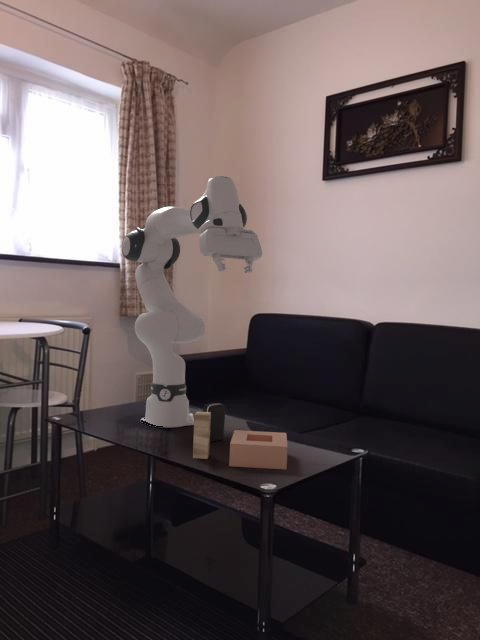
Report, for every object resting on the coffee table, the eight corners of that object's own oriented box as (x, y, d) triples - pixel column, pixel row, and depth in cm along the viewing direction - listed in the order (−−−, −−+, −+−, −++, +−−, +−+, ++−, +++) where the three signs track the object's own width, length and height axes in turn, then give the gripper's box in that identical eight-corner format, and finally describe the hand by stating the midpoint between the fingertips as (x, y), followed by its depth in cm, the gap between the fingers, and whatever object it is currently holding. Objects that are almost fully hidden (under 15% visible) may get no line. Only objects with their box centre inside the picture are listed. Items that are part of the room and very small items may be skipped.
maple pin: (195, 453, 151) (196, 411, 151) (209, 454, 151) (210, 412, 150) (192, 458, 147) (194, 414, 147) (207, 458, 147) (208, 415, 146)
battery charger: (216, 437, 171) (217, 401, 170) (224, 439, 168) (226, 403, 167) (199, 440, 166) (201, 403, 165) (207, 443, 163) (209, 405, 163)
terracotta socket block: (233, 450, 156) (234, 430, 156) (285, 453, 155) (286, 432, 155) (229, 466, 141) (230, 443, 141) (286, 469, 140) (287, 446, 140)
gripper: (250, 235, 167) (257, 277, 164) (193, 228, 155) (200, 273, 152) (262, 227, 162) (270, 270, 159) (204, 219, 150) (212, 265, 147)
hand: (235, 271), depth 155 cm, fingers open, 8 cm apart
